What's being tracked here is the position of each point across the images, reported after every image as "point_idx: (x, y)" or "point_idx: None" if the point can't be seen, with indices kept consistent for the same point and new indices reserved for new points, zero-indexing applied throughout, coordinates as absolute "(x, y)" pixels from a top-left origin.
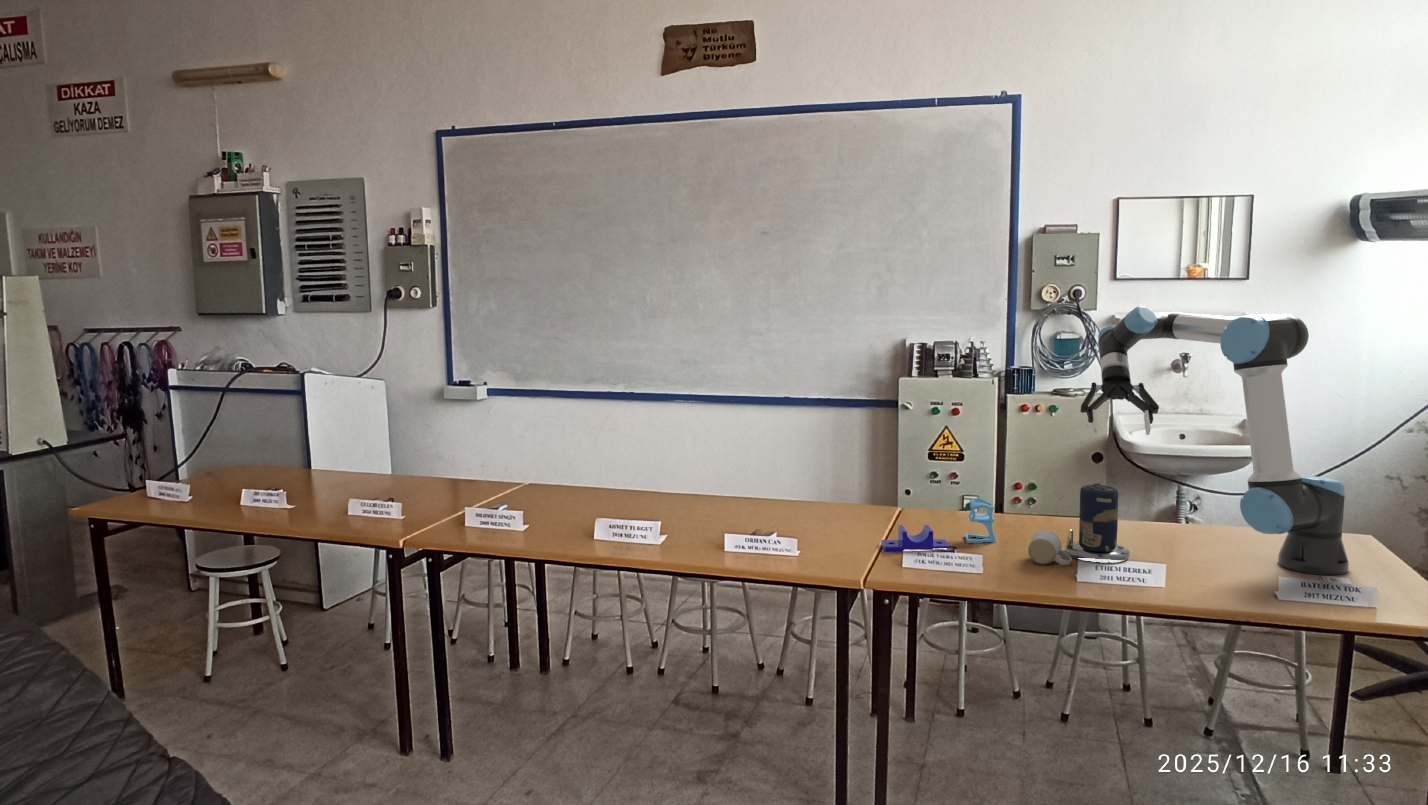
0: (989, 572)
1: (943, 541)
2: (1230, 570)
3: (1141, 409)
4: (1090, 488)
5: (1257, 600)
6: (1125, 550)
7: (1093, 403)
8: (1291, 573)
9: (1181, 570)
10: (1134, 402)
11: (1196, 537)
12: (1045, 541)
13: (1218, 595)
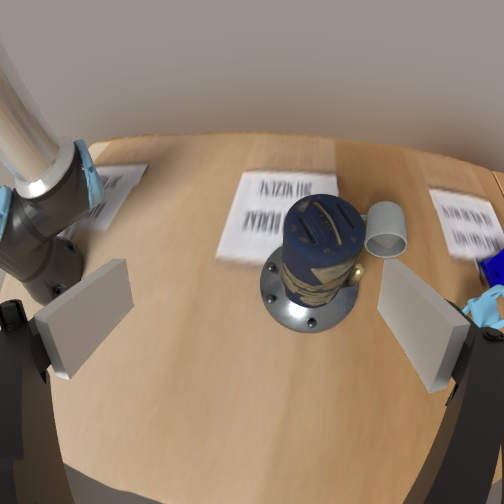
0: (423, 191)
1: (495, 280)
2: (144, 242)
3: (48, 402)
4: (345, 218)
5: (167, 157)
6: (266, 283)
7: (498, 371)
8: (88, 244)
9: (203, 231)
10: (48, 451)
11: (124, 413)
12: (386, 200)
13: (197, 161)
